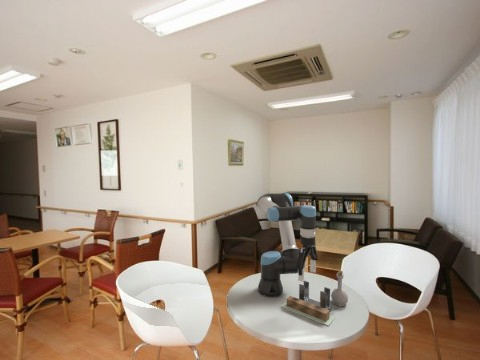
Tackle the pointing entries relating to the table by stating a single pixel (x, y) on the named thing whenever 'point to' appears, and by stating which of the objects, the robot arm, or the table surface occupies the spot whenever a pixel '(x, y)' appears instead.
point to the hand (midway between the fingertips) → (307, 276)
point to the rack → (323, 300)
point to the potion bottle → (339, 292)
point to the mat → (309, 315)
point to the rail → (308, 308)
